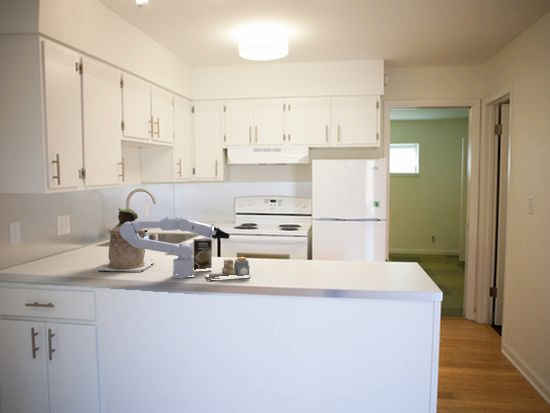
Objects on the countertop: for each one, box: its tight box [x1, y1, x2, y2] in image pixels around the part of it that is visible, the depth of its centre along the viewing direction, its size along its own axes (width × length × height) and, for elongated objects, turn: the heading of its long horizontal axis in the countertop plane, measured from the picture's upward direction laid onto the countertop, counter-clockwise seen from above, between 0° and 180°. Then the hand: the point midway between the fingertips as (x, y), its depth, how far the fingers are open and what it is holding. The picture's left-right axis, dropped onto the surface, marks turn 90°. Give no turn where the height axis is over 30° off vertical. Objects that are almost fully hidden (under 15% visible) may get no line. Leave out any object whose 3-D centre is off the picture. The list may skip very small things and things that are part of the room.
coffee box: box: [192, 238, 213, 271], centre depth 211 cm, size 9×6×16 cm
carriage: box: [221, 258, 235, 275], centre depth 196 cm, size 5×6×7 cm
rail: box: [208, 271, 236, 277], centre depth 196 cm, size 13×2×2 cm, turn 109°
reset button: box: [237, 256, 246, 261], centre depth 198 cm, size 4×4×2 cm
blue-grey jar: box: [233, 258, 250, 276], centre depth 198 cm, size 6×8×7 cm, turn 19°
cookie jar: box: [95, 207, 156, 273], centre depth 216 cm, size 25×25×32 cm
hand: (227, 236), depth 202 cm, fingers open, 7 cm apart
